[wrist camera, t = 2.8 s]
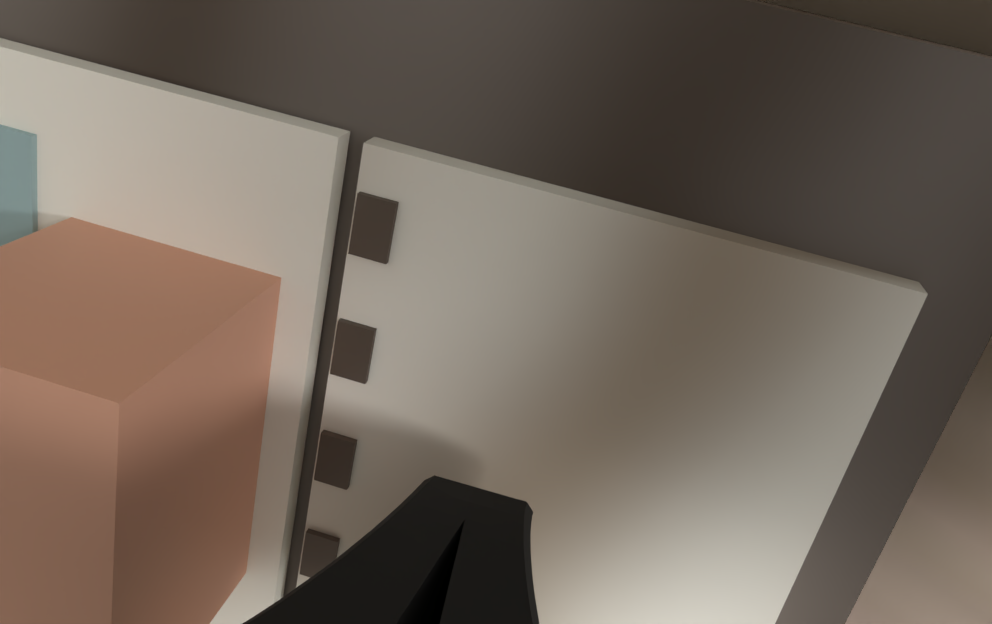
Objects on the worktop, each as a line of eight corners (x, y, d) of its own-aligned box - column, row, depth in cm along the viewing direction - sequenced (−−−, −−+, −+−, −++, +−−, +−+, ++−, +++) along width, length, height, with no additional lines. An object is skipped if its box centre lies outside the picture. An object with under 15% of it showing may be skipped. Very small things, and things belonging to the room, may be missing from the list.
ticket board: (1058, 72, 10) (1140, 95, 8) (697, 828, 16) (699, 940, 14) (-497, -299, 12) (-699, -345, 11) (-323, 482, 18) (-435, 540, 16)
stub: (350, 130, 11) (182, 214, 7) (274, 657, 14) (138, 887, 11) (-82, 15, 11) (-438, 39, 8) (-48, 549, 15) (-277, 733, 11)
